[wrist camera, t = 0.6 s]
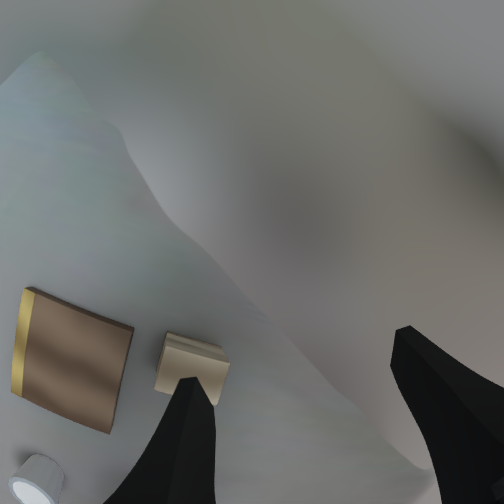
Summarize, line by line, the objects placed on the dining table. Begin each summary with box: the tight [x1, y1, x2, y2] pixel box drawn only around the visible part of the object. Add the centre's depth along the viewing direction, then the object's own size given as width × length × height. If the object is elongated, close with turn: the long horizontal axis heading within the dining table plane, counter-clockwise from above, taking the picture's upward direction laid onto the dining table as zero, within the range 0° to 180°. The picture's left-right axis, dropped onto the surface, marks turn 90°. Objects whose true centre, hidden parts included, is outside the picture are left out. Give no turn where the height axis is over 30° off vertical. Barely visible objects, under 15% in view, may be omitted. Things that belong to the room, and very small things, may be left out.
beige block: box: [154, 331, 230, 406], centre depth 28 cm, size 5×6×6 cm
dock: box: [11, 287, 134, 435], centre depth 26 cm, size 13×13×2 cm
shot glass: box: [8, 454, 64, 504], centre depth 21 cm, size 7×7×7 cm
